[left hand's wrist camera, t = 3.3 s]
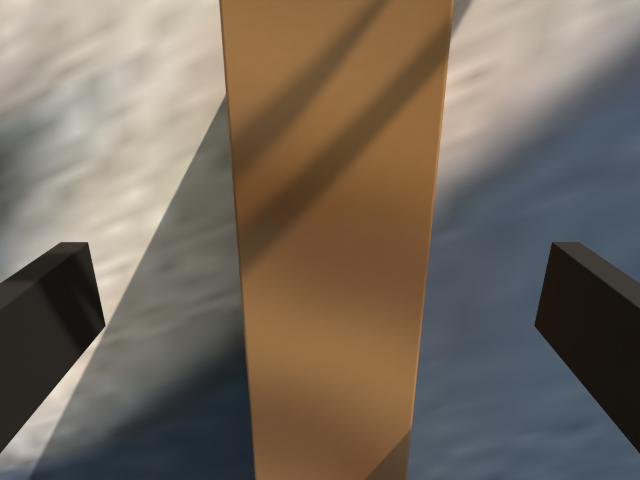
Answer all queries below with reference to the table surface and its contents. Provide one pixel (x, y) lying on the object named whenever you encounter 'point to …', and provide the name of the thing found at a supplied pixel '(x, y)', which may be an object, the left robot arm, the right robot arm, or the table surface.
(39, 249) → the table surface
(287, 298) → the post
